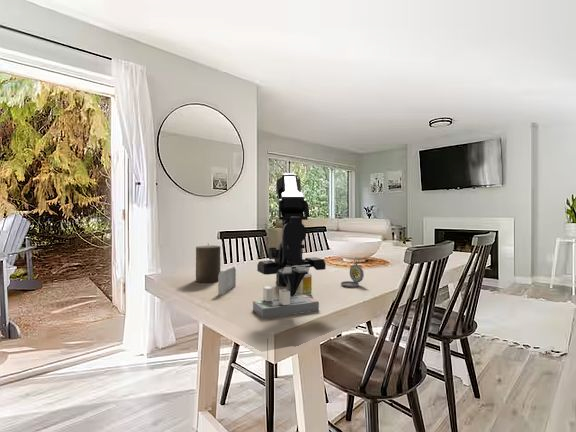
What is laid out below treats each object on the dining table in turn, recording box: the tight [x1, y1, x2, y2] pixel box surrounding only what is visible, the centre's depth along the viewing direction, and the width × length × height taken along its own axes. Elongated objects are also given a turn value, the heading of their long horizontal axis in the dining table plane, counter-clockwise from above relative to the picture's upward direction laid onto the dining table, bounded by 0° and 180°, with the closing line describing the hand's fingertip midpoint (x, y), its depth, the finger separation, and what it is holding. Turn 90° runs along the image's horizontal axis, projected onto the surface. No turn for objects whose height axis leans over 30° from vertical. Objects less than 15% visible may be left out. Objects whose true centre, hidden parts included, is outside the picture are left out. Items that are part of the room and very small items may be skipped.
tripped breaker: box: [278, 288, 291, 305], centre depth 90 cm, size 2×3×4 cm
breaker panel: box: [252, 295, 320, 319], centre depth 93 cm, size 17×8×3 cm, turn 115°
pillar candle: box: [195, 243, 221, 284], centre depth 131 cm, size 10×10×15 cm
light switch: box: [217, 265, 237, 296], centre depth 115 cm, size 2×12×8 cm, turn 168°
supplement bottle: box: [295, 267, 313, 297], centre depth 110 cm, size 5×5×10 cm
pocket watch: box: [340, 258, 365, 288], centre depth 123 cm, size 8×8×10 cm
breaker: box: [262, 285, 274, 302], centre depth 93 cm, size 2×3×4 cm
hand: (292, 296), depth 91 cm, fingers closed
